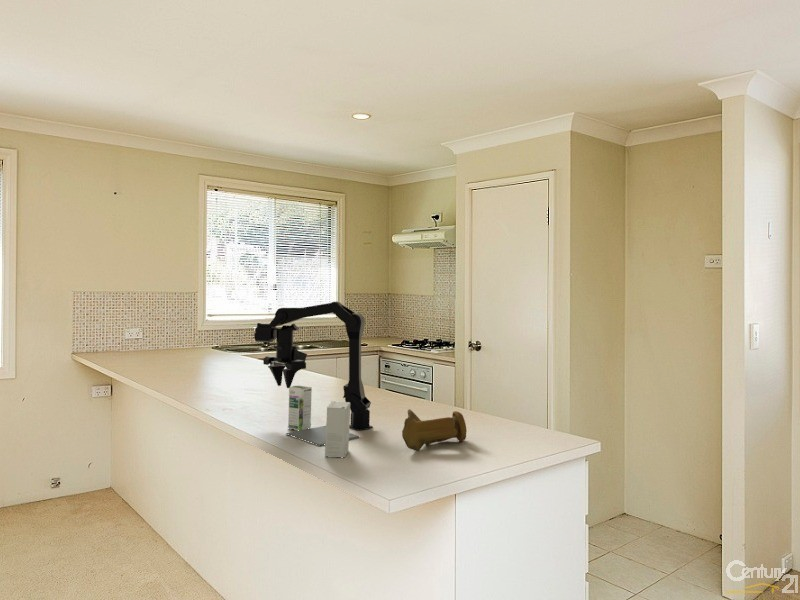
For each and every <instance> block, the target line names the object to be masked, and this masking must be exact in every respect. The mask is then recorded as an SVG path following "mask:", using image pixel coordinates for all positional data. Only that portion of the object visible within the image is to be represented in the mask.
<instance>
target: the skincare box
mask: <svg viewBox="0 0 800 600" xmlns="http://www.w3.org/2000/svg"><path fill="white" fill-rule="evenodd" d="M349 425H351V409H350V402H345V401H336V400H331V402H330V403H329V405H328V406H327V407H326V423H325V426H326V443H325V445H324V457H325V456H328V457H327V458H331V457H345V458H346V455H347V454H348V451H349V447H350V446H349V445H350V443H349V442H350V440H349V433H350V428H349Z"/></svg>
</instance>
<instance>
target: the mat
mask: <svg viewBox="0 0 800 600" xmlns="http://www.w3.org/2000/svg"><path fill="white" fill-rule="evenodd" d="M286 434H289V435H292V436H295V437H297V438H300V439H303V440H306V441H309V442H312V443H314V444H317V445H324V444H325V443H326V425H321V426H317V427H312V428H309V429H305V430H300V431H296V430H294V431H291V432H286ZM286 434H285V435H286ZM297 438H296V439H297ZM359 438H360V436H359V435H357V434H354V433H352V432H351V433H350V432H349V441H351V440H355V439H356V440H357V439H359ZM300 439H299V440H300ZM350 439H351V440H350ZM303 440H302V441H303ZM314 444H313V445H314ZM317 445H316V446H317ZM324 446H325V445H324Z"/></svg>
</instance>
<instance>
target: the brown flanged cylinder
mask: <svg viewBox="0 0 800 600" xmlns="http://www.w3.org/2000/svg"><path fill="white" fill-rule="evenodd" d="M451 416H452V417H450V416H449V417H448V416H447V417H439V418H435V419H434V418H433V419H427V420H426V419H425V420H421V419H420V418H419V416H417V414H416V413H415V412H413V410H411V409H407V418H405V419H404V424H403V425H404V426H403V428H402V431H401V434H402V435H401V436H402V439H403V441H404V442H405V446H406V447H407V448H408V449H410V450H413V451H414V452H415V451H416V452H418V451H419V452H420V450H421V449H422V447H423V446H424V445H425V446H430V445H431V444H434V443H440V442H444V441H447V440H450V439H456V440H459V441H460V442H459V441H458V442H459V443H463V442H464V441H465V440H466V439H467V425H466V421H465V418H464V415H463V414H462V412H460V411H457V410H455V411H453V412H452V415H451Z"/></svg>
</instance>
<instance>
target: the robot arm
mask: <svg viewBox="0 0 800 600" xmlns="http://www.w3.org/2000/svg"><path fill="white" fill-rule="evenodd" d="M327 314H328V315H329V314H333V315H334V316H336V317H337V318H338V319H339V320H340V321H341V322H343V323H344V325H345V331H346V334H347V338H348V382H347V383H346V384H345V385H343V397H342V398H343V399H344V402H350V425H349V429H352V430H355V431H356V430H357V431H363V430H369V429H372V428H373V427H374V425H373V426H372V425H371V424H370V419H371V418H370V416H371V415H370V413H371V412H370V410H369V409H370V407H371V405H372V402H371V401H370V400H369V399H368V397H366V393H365V388H364V384H363V380H362V337H363V334H364V329H365V323H366V320H365V319H366V318H365V317H364V315H363V314H361V313H358V312H354V311H353V310H351V309H350V308H348V307H346V305H344V304H343V303H341V302H340V301H332V302H328V303H322V304H315V305H311V306H305V307H295V306H294V307H292V306H291V307H290V306H289V307H288V306H286V307H280V308H278V309H277V310H276V311H275V313H274V318H272V320H271V322H270V323H264V322H257V323H256V328H255V330H254V335H253V336H254V340H255V342H256V343H273V342H274V340H275V341H276V343H275V344H276V345H273V349H276V350H275V353H276V355H267V356H265V357H264V358H263V362H262V363H263V365H266V366H267V368H269V371H270V372H271V373H272V374H271V375H272V377H273V378H274V380H275V382H276V385H277V386H278V387H280V386H282V381H283V378H284V382H285V387H286V388H287V389H289V387H292V383H293V381H294V379H295V378H294V377H295V375H296V374H297V372H299V371H301V370H305V369H307V362H306V359H307V356H308V354H307V353H305V352H303V351H300V350H298V348H297V347H296V345H294V331H299V330H300V327H299V326H297V325H296V323H294V322H296V321H299V320H302V319H304V318H309V317H316V316H322V315H327ZM290 323H291V324H290ZM287 324H290V325H287ZM280 326H281V327H280Z"/></svg>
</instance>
